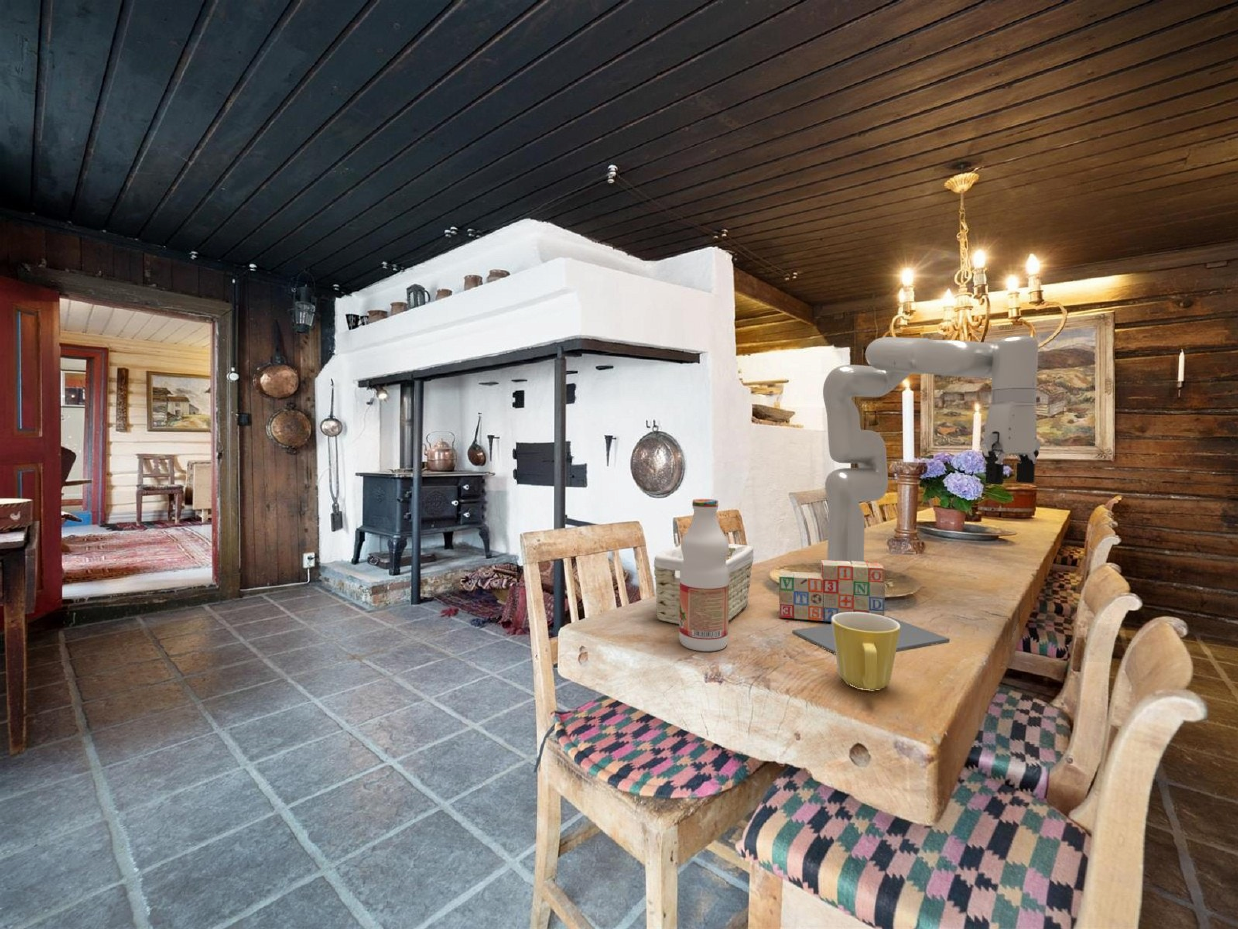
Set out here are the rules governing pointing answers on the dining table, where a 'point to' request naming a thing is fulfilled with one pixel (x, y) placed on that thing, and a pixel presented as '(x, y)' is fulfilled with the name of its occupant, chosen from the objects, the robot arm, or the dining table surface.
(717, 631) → the fruit juice
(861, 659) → the mug
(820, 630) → the rubber mat
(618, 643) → the dining table surface
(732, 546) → the storage basket
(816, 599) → the stack of blocks
